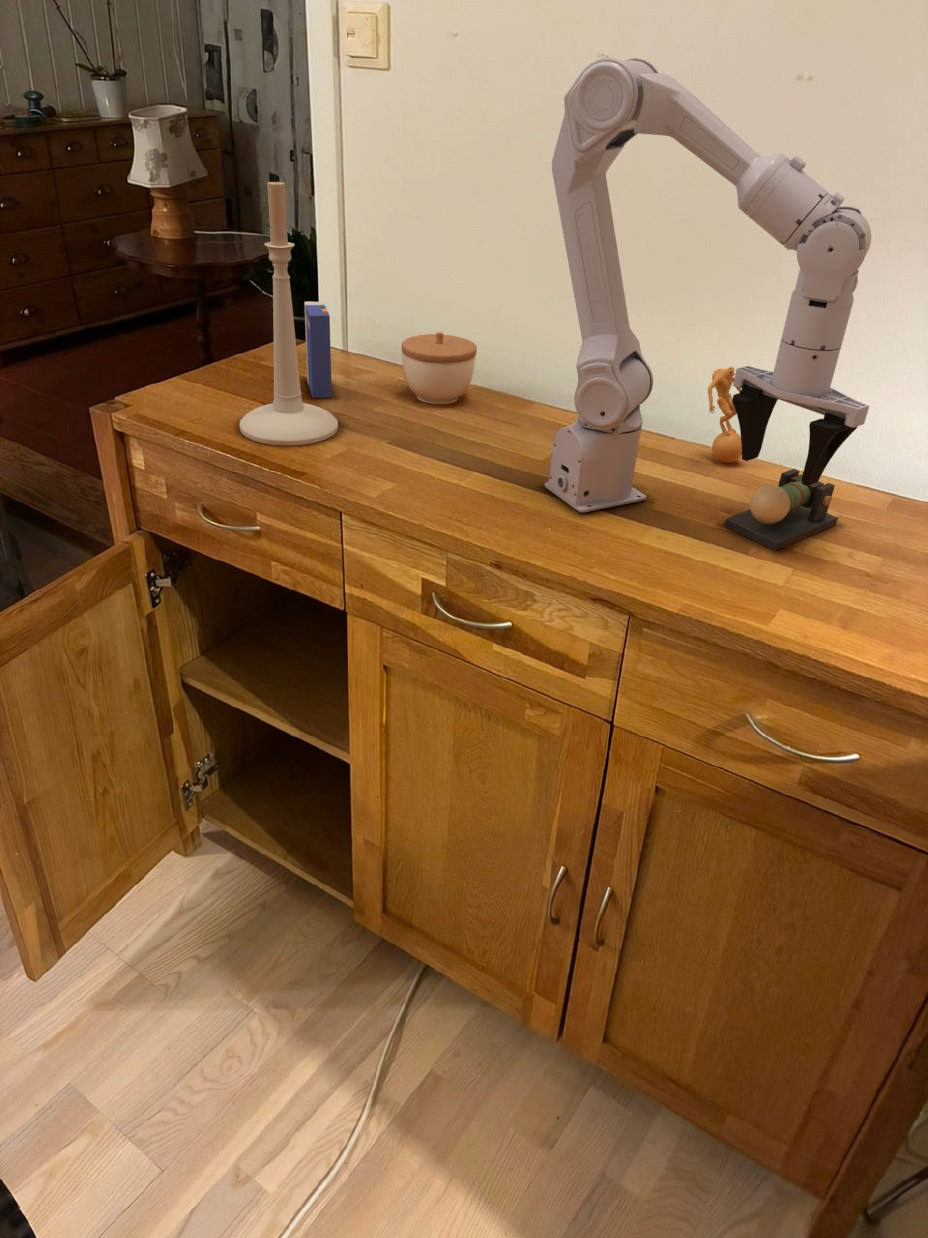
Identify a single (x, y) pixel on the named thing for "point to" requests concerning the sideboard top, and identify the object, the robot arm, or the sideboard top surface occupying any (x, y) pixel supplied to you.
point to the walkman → (318, 349)
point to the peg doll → (781, 499)
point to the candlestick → (285, 354)
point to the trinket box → (438, 366)
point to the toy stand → (787, 520)
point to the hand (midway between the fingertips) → (778, 470)
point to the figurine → (725, 417)
